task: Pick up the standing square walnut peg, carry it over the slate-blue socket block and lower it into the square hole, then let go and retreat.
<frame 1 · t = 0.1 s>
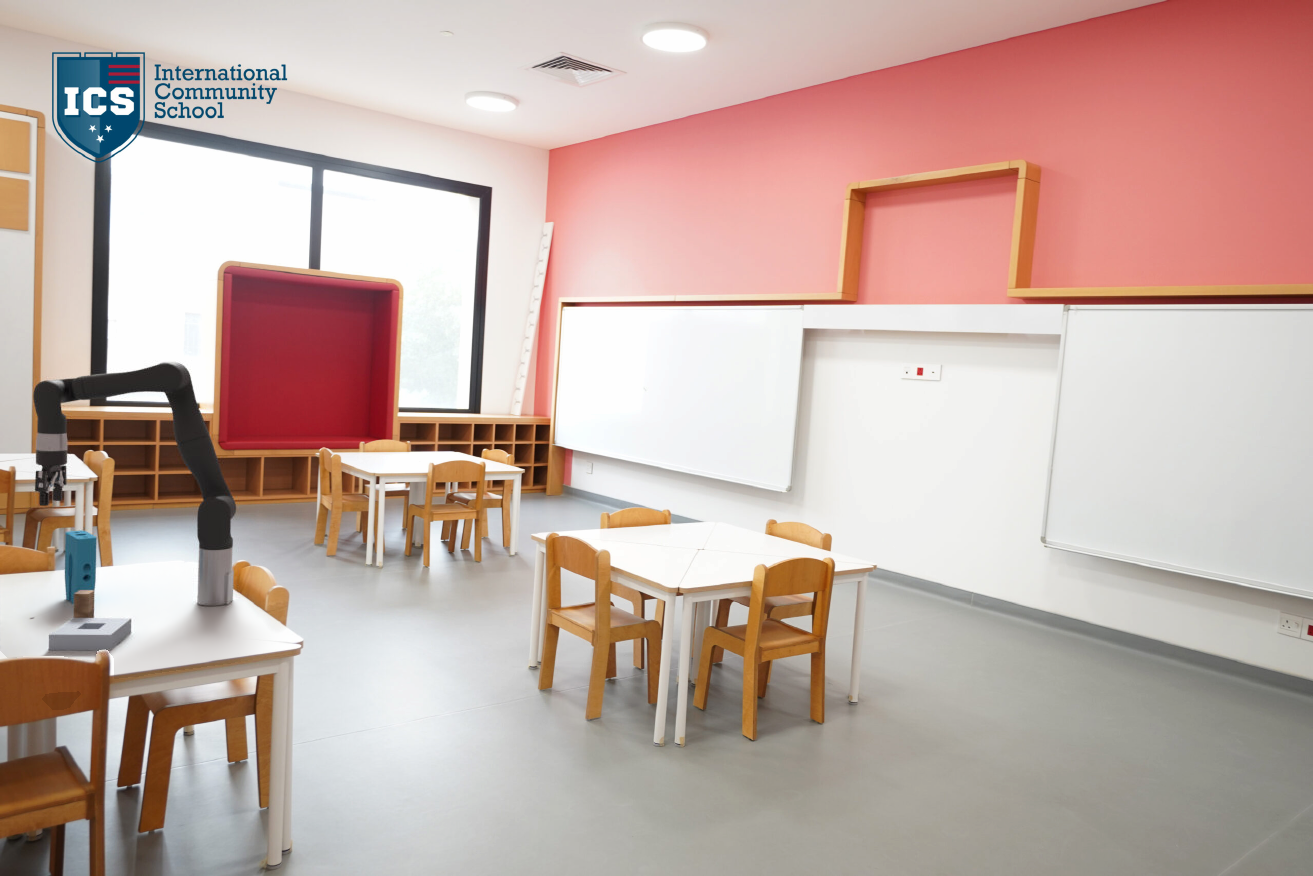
hand: (50, 503, 254), 29 cm above the table, fingers open, 8 cm apart
block: (79, 601, 258), on the table
socket block: (91, 641, 226), on the table
walnut peg: (83, 628, 236), on the table
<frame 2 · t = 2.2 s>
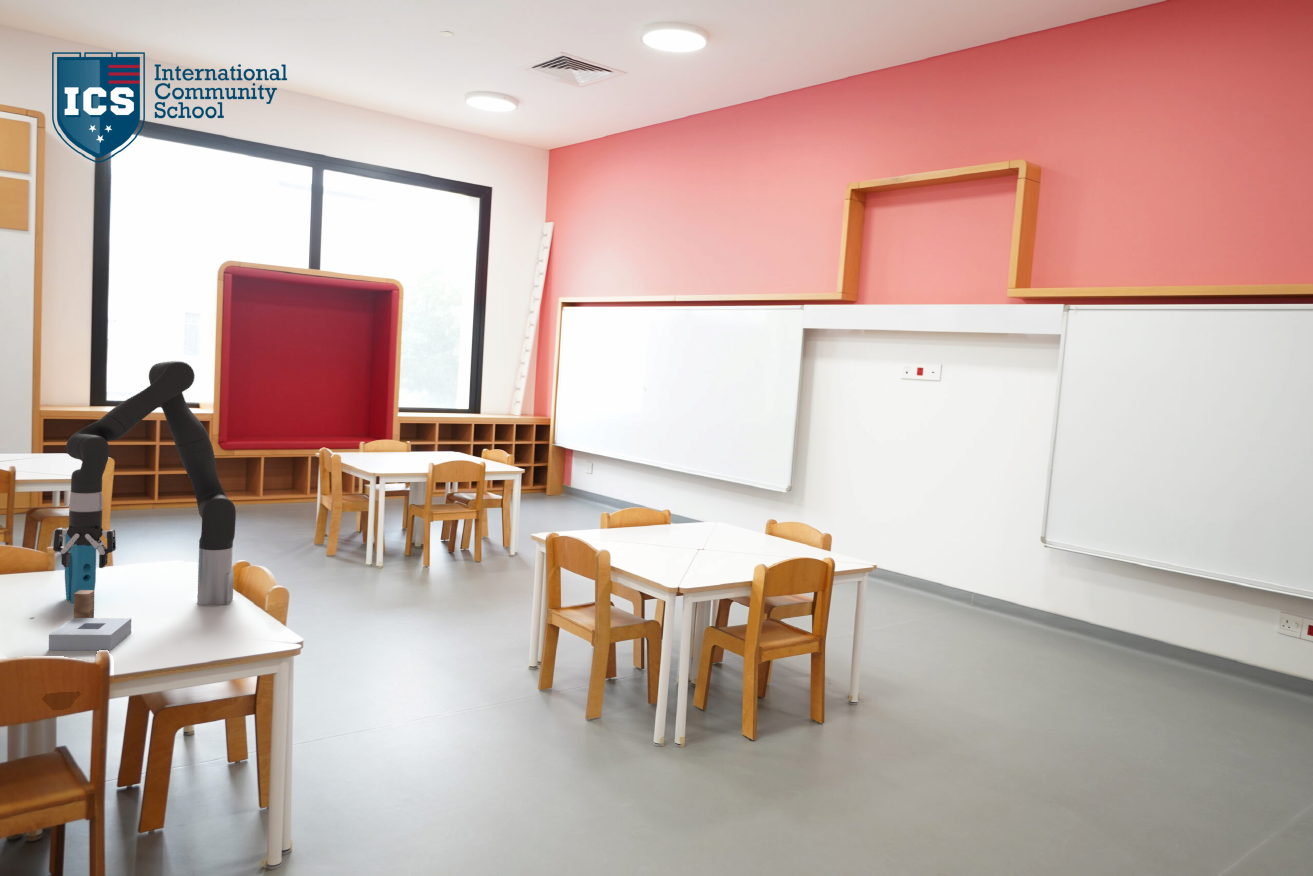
hand: (84, 567, 234), 17 cm above the table, fingers open, 8 cm apart
nothing on the table moved.
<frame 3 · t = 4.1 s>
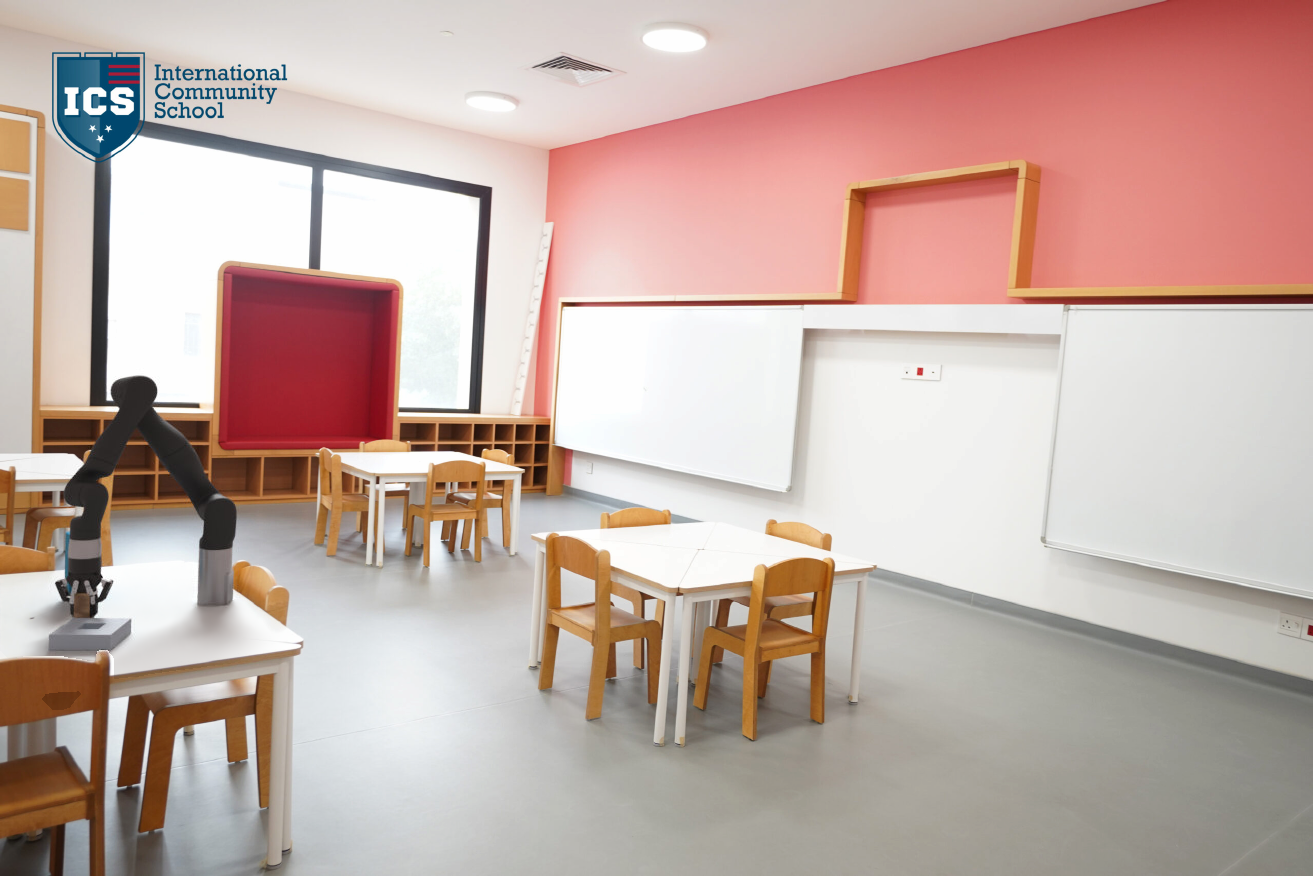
hand: (83, 616, 235), 3 cm above the table, fingers closed on walnut peg, 3 cm apart
walnut peg: (83, 627, 236), on the table, touching gripper
everything else where it was.
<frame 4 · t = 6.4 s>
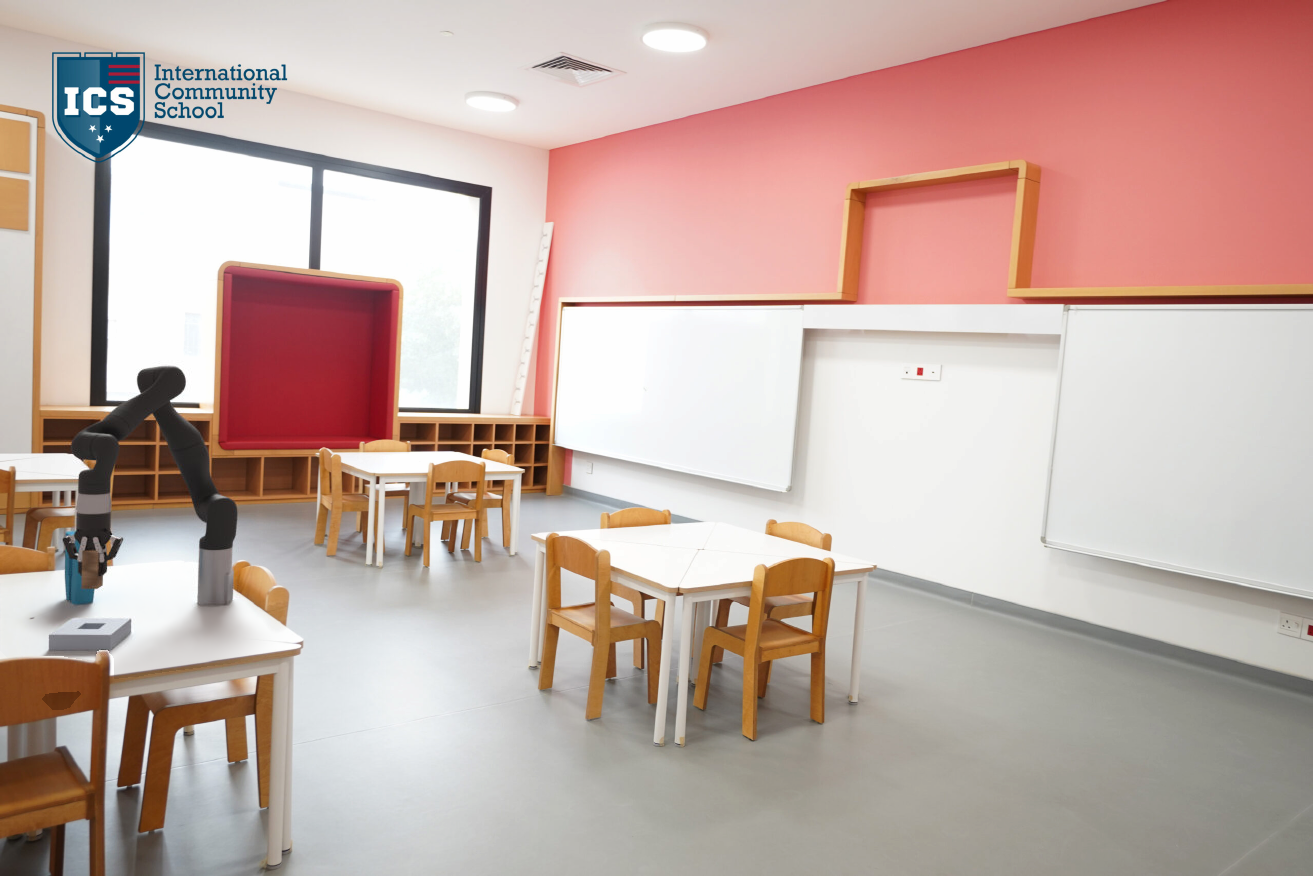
hand: (92, 575, 225), 18 cm above the table, fingers closed on walnut peg, 3 cm apart
walnut peg: (92, 587, 225), point 14 cm above the table, touching gripper
everything else where it was.
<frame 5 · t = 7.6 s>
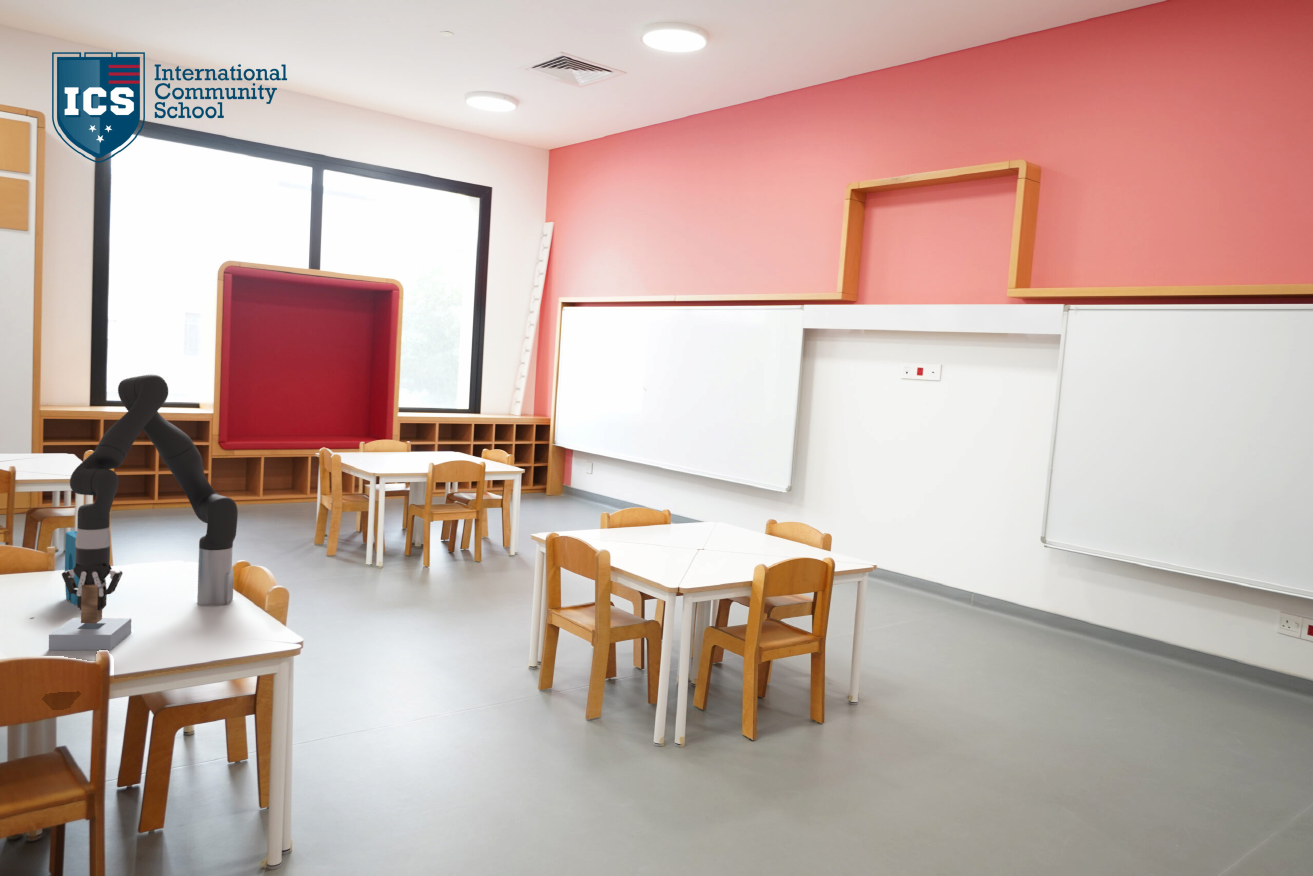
hand: (91, 609, 226), 9 cm above the table, fingers closed on walnut peg, 3 cm apart
walnut peg: (91, 621, 226), point 5 cm above the table, touching gripper
everything else where it was.
when the fingers open (5 cm above the table, at t = 8.7 s): walnut peg drops 1 cm, resting in socket block.
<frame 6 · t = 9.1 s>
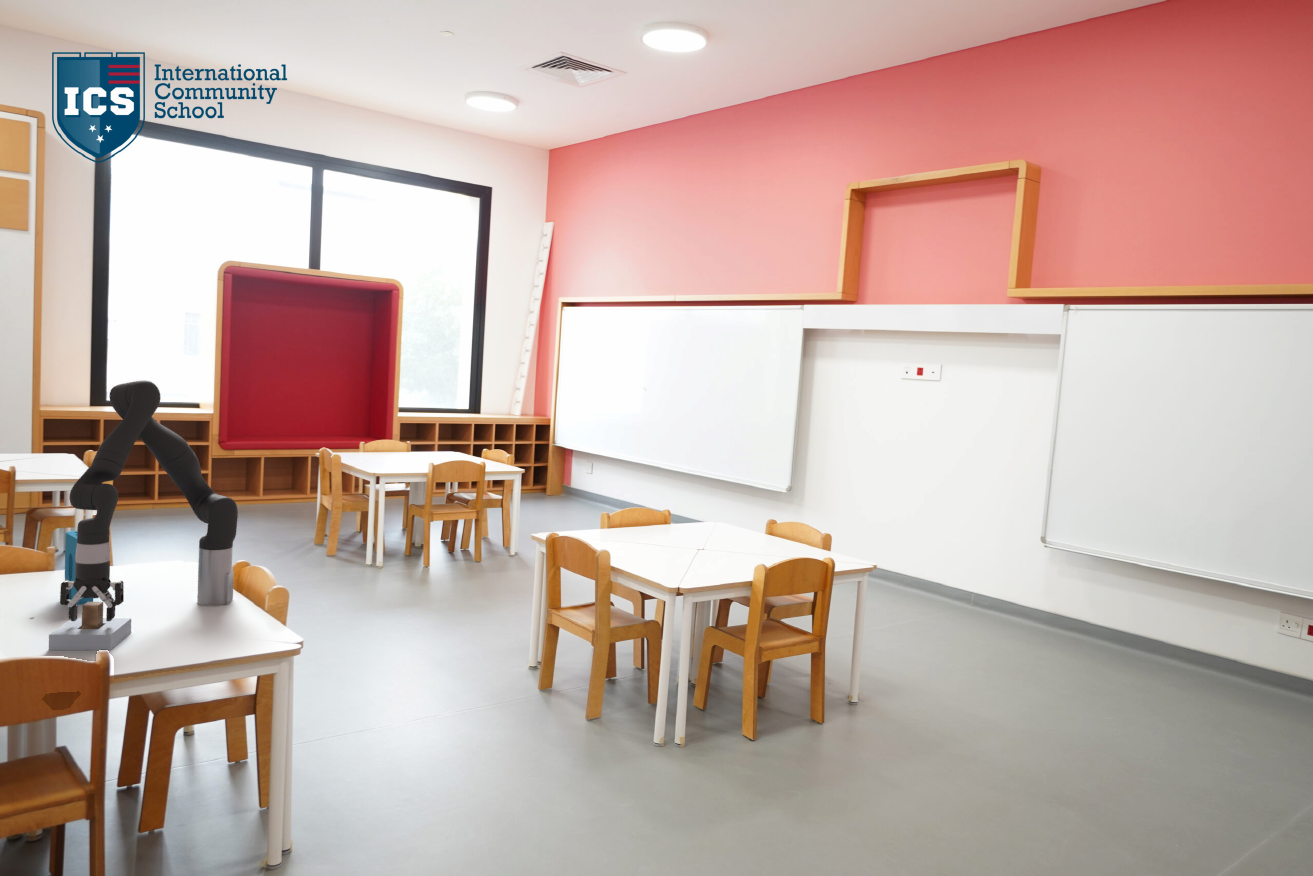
hand: (91, 620, 226), 6 cm above the table, fingers open, 8 cm apart
walnut peg: (92, 641, 226), resting in socket block
everything else where it was.
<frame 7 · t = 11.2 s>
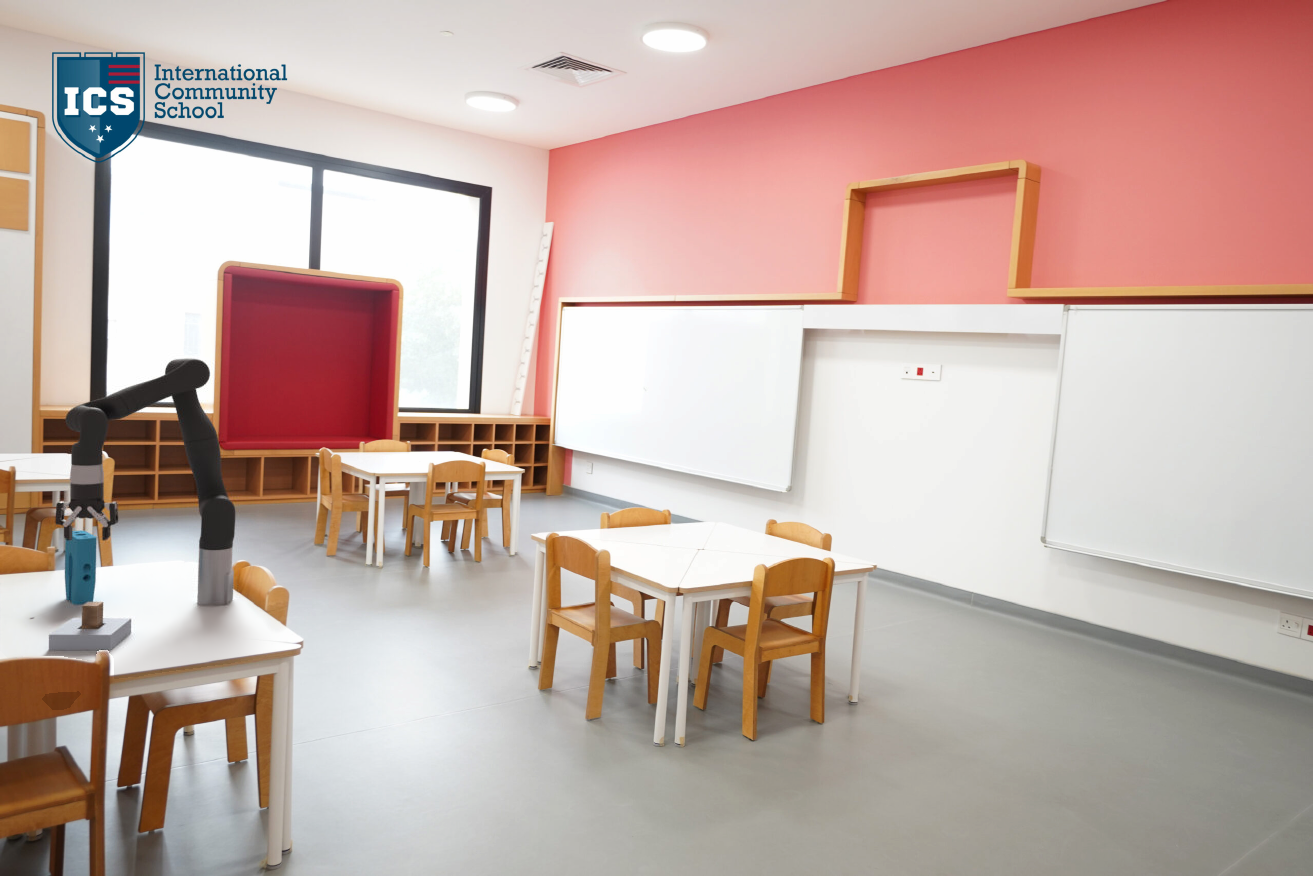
hand: (87, 540, 234), 24 cm above the table, fingers open, 8 cm apart
nothing on the table moved.
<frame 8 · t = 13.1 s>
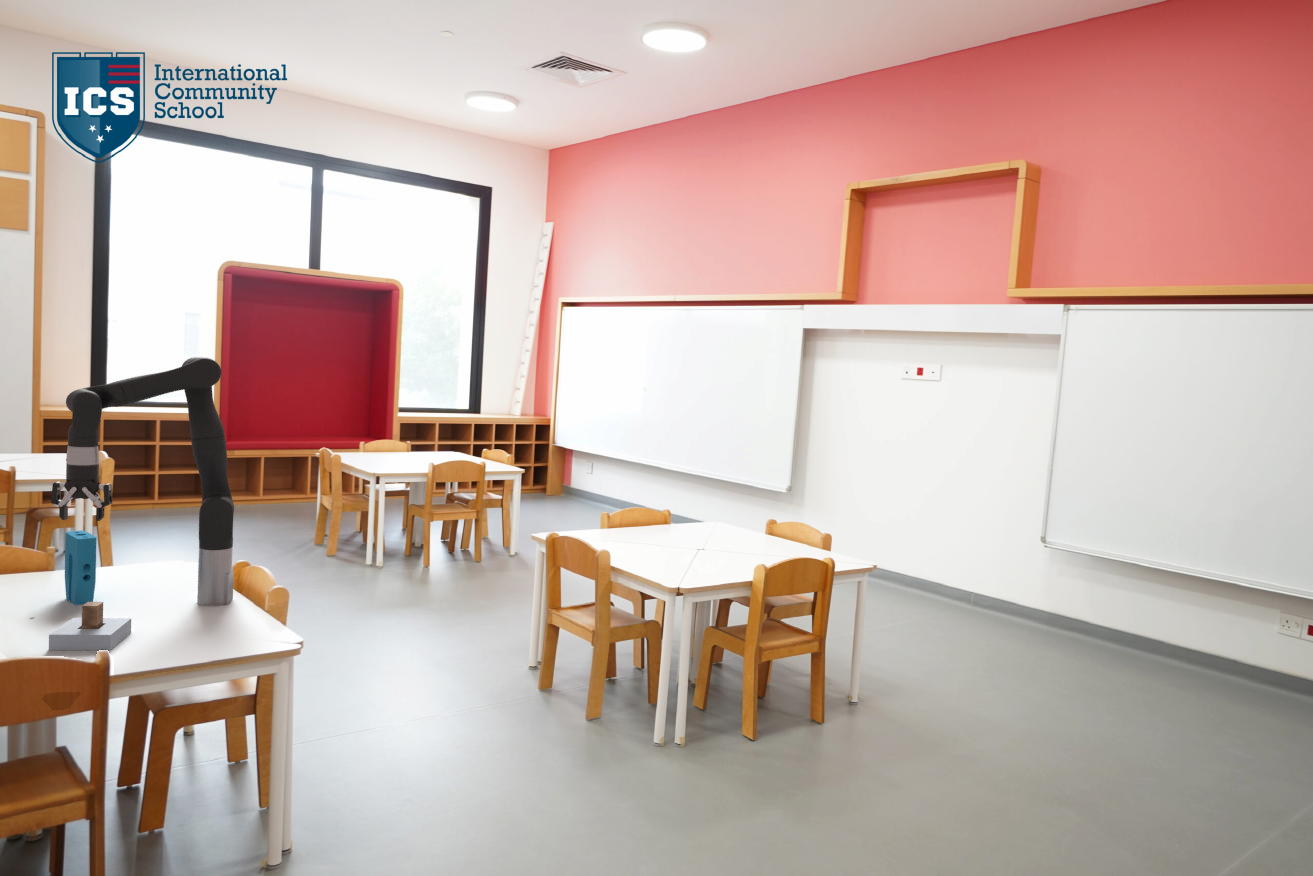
hand: (81, 520, 240), 28 cm above the table, fingers open, 8 cm apart
nothing on the table moved.
at the end: walnut peg 0.1 cm off-centre on the socket block, point 0.0 cm above the socket block's base; walnut peg tilted 0°; the gripper is holding nothing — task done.
